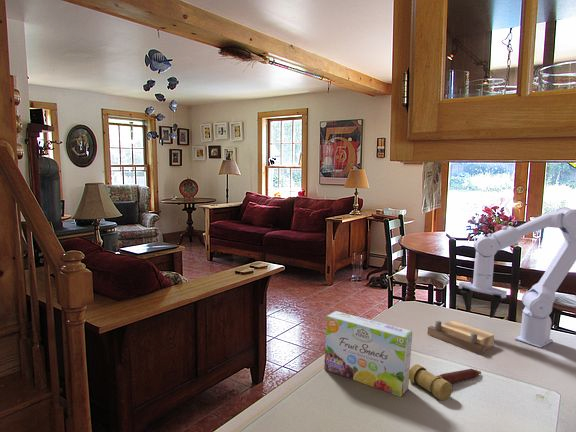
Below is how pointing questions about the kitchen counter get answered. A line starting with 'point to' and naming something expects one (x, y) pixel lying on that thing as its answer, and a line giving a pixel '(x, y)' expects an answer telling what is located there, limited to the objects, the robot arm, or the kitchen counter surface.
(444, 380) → the gavel
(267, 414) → the kitchen counter surface
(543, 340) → the robot arm
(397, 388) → the snack box
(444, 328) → the wooden block
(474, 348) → the bar
